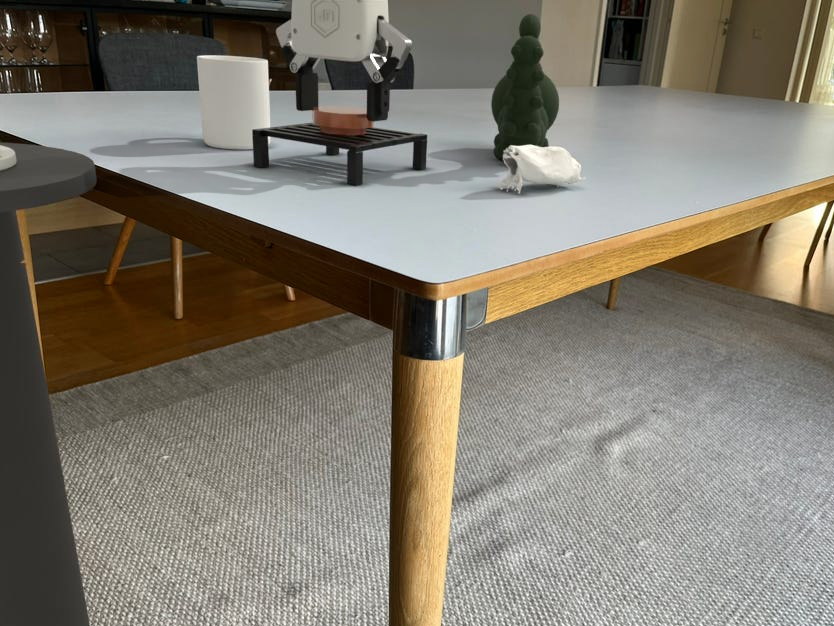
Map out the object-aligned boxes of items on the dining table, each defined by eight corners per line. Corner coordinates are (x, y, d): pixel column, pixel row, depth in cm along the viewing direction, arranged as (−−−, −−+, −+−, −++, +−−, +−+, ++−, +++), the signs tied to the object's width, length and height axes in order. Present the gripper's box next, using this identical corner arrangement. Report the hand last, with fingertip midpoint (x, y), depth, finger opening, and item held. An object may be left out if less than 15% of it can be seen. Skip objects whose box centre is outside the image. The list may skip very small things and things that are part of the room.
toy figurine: (553, 187, 95) (553, 141, 116) (572, 21, 85) (568, 4, 107) (478, 181, 95) (492, 136, 117) (488, 15, 86) (501, -1, 108)
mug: (181, 136, 100) (174, 52, 96) (241, 134, 105) (237, 54, 101) (219, 151, 92) (213, 60, 88) (282, 148, 97) (279, 61, 93)
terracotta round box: (349, 138, 83) (349, 115, 82) (300, 130, 85) (299, 108, 84) (385, 133, 88) (385, 111, 87) (337, 125, 91) (337, 104, 90)
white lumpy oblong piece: (538, 210, 81) (592, 178, 87) (524, 146, 78) (581, 118, 84) (503, 209, 84) (558, 179, 90) (489, 148, 81) (546, 121, 87)
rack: (356, 185, 80) (356, 146, 78) (253, 166, 85) (251, 129, 84) (426, 168, 91) (427, 134, 90) (331, 152, 97) (331, 120, 95)
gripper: (252, -65, 79) (259, 108, 86) (391, -60, 72) (387, 127, 79) (299, -56, 86) (302, 104, 92) (432, -51, 79) (424, 122, 86)
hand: (341, 115), depth 86 cm, fingers open, 9 cm apart
